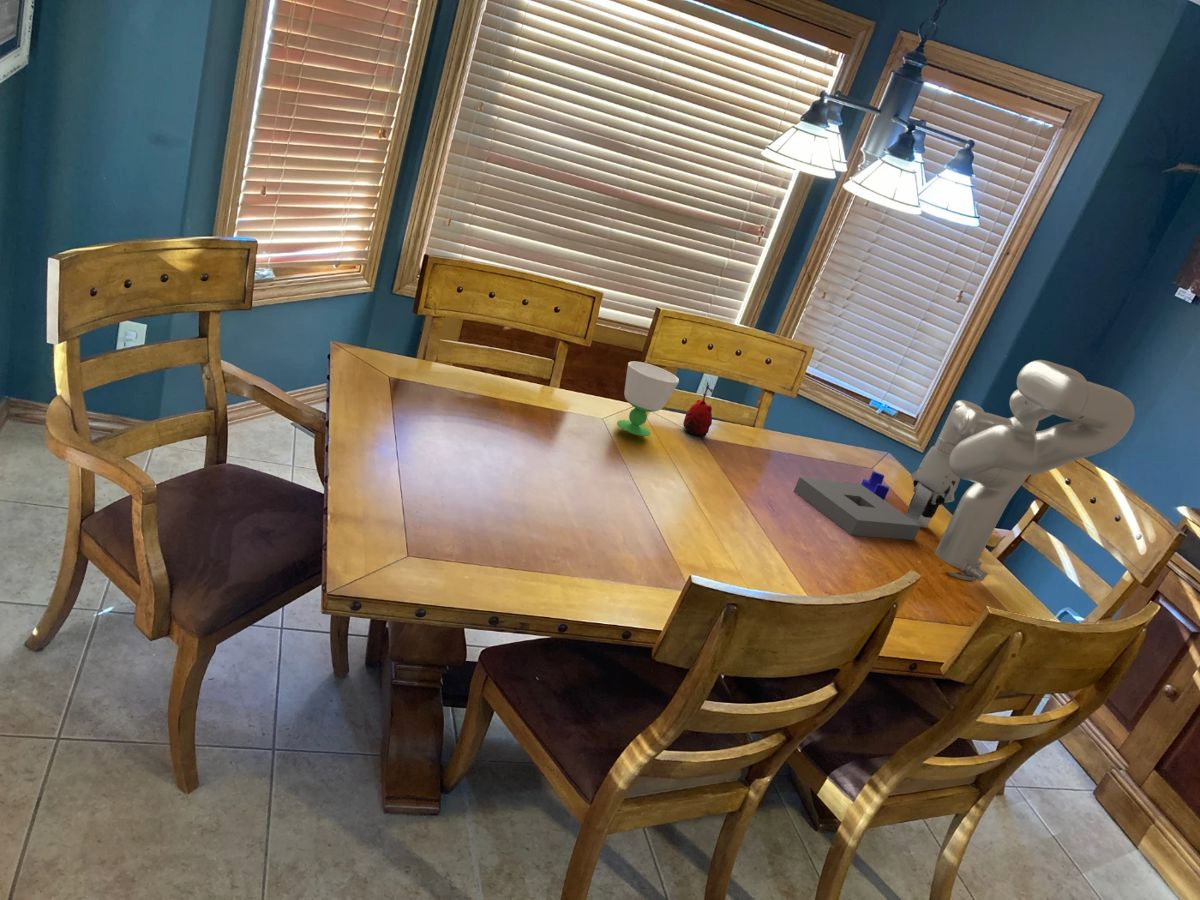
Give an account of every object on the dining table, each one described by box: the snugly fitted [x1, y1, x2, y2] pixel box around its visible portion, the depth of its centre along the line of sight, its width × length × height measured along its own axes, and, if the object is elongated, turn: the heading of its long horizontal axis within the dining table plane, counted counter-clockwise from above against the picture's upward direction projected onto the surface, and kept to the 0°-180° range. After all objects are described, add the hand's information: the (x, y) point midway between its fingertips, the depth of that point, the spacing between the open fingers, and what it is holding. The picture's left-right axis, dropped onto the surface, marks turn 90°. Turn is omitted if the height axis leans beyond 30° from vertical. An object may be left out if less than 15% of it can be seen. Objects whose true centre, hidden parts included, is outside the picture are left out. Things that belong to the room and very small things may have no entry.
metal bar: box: [904, 484, 939, 528], centre depth 243 cm, size 4×4×10 cm
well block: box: [793, 476, 922, 541], centre depth 233 cm, size 22×22×4 cm
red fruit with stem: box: [682, 381, 714, 437], centre depth 255 cm, size 8×7×15 cm
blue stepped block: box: [860, 470, 890, 501], centre depth 251 cm, size 12×4×6 cm, turn 170°
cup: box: [616, 360, 680, 437], centre depth 240 cm, size 14×14×16 cm
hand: (920, 511), depth 243 cm, fingers closed on metal bar, 4 cm apart
